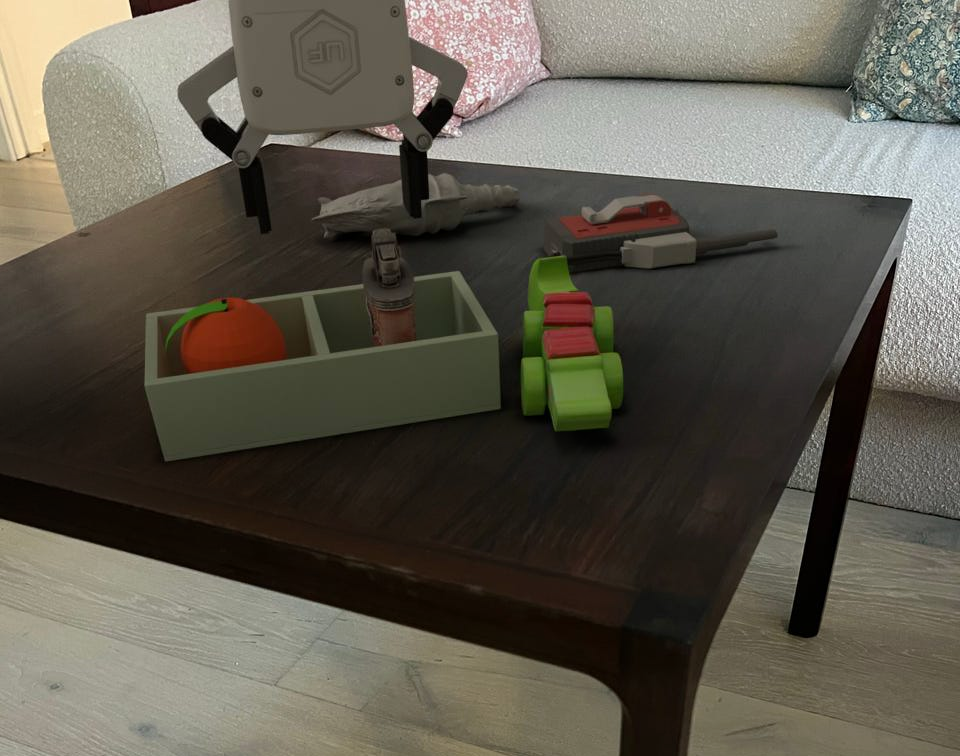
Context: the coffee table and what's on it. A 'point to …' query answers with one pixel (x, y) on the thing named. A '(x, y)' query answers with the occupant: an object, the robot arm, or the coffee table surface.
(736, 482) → the coffee table surface
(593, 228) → the walkie-talkie
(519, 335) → the coffee table surface
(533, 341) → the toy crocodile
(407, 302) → the lighter
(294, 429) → the tray
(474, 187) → the seahorse
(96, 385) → the coffee table surface
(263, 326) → the clementine
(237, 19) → the robot arm
